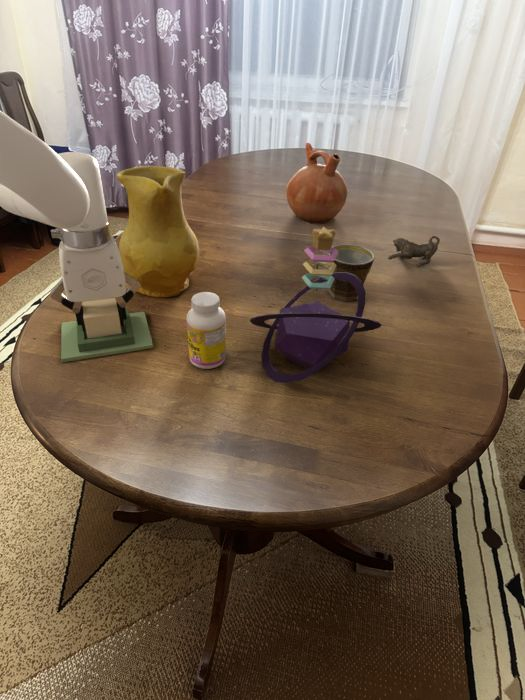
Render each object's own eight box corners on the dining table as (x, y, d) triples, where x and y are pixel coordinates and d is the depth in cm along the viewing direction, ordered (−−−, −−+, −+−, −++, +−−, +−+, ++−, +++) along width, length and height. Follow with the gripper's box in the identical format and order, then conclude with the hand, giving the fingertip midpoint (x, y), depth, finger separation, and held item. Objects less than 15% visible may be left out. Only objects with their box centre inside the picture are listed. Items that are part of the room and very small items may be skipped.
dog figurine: (431, 259, 123) (438, 232, 119) (434, 268, 119) (442, 241, 114) (385, 254, 124) (391, 227, 120) (386, 264, 120) (393, 236, 115)
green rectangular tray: (62, 362, 83) (58, 350, 81) (62, 326, 92) (59, 314, 90) (153, 348, 87) (151, 336, 86) (144, 314, 96) (143, 303, 95)
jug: (273, 210, 147) (277, 142, 135) (321, 202, 154) (328, 138, 142) (304, 231, 134) (312, 159, 122) (354, 222, 142) (366, 153, 129)
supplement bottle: (184, 352, 86) (180, 292, 79) (218, 345, 89) (216, 285, 81) (196, 374, 82) (192, 312, 74) (231, 365, 84) (231, 304, 76)
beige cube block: (88, 338, 85) (83, 318, 82) (86, 321, 89) (82, 301, 87) (121, 333, 87) (118, 313, 84) (119, 317, 91) (115, 297, 88)
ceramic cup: (354, 281, 111) (361, 242, 105) (374, 302, 104) (383, 261, 98) (303, 287, 108) (308, 247, 102) (321, 310, 100) (326, 268, 94)
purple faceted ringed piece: (359, 328, 95) (382, 209, 80) (379, 399, 78) (415, 264, 63) (249, 325, 95) (252, 204, 80) (247, 395, 78) (250, 258, 63)
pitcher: (112, 300, 99) (98, 179, 85) (135, 265, 115) (126, 157, 101) (193, 306, 100) (191, 187, 86) (204, 270, 115) (205, 164, 101)
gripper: (27, 248, 72) (54, 343, 82) (142, 238, 76) (152, 329, 87) (30, 229, 77) (54, 320, 88) (136, 221, 82) (147, 308, 93)
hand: (103, 324), depth 87 cm, fingers closed on beige cube block, 6 cm apart
